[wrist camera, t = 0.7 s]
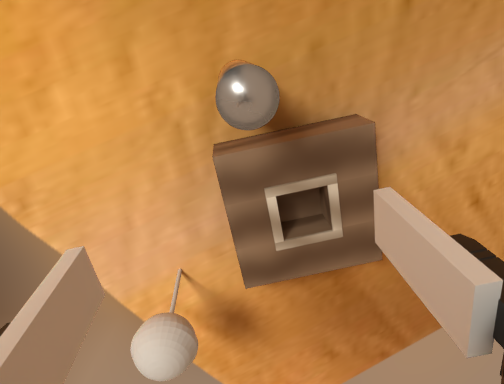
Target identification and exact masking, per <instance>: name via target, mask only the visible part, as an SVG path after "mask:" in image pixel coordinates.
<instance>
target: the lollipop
mask: <svg viewBox="0 0 504 384" xmlns="http://www.w3.org/2000/svg"><path fill="white" fill-rule="evenodd" d="M181 273H182V269H179V270H178V274H177V279H176V283H175V288H174V293H173V298H172V303H171V308H170V312H169V313H161V314H157V315H155V316H152V317H151V318H149V319H148V320H147V321H145V322H144V323H143V324H142V326H141V327H140V328H139V329H138V331H137V332H136V334H135V335H134V337H133V340H132V343H131V355H132V358H133V360H134V363H135V365H136V367H137V369H138V370H139V371H140V372H141V373H142V374H143V375H144V376H145V377H147V378H149V379H152V380H155V381H168V380H171V379H174V378H176V377H177V376H179V375H181V374H182V373H183V372H184V371H185V370H186V369H187V368H188V367H189V365H190V364H191V363H192V361H193V360H194V359H195V356H196V354H197V350H198V340H197V337H196V335H195V331H194V329H193V327H192V326H191V324H190V323H189V322H188V321H187V320H186V319H185V318H184V317H182V316H180V315H178V314H175V313H174V309H175V304H176V299H177V294H178V288H179V283H180V278H181Z"/></svg>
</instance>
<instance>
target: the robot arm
mask: <svg viewBox="0 0 504 384" xmlns="http://www.w3.org/2000/svg"><path fill="white" fill-rule="evenodd" d="M373 192H374V225H375V243H376V244H377V245H378V246H379V248H380V249H381V250H382V252H383V253H384V254H385V255H386V257H387V258H388V259H389V260H390V262H391V263H392V264H393V265H394V267H395V268H396V269H397V271H398V272H399V273H400V274H401V276H402V277H403V278H404V279H405V281H406V282H407V283H408V284H409V286H410V287H411V288H412V290H413V291H414V292H415V293H416V295H417V296H418V297H419V298H420V300H421V301H422V302H423V304H424V305H425V306H426V307H427V309H428V310H429V311H430V312H431V314H432V315H433V316H434V317H435V319H436V320H437V321H438V323H439V324H440V325H441V326H442V328H443V329H444V330H445V331H446V333H447V334H448V335H449V336H450V338H451V339H452V340H453V342H454V343H455V344H456V345H457V347H458V348H459V349H460V350H461V352H462V353H463V354H464V355H465V357H466V358H471V357H476V356H481V355H486V354H491V353H492V348H493V342H494V339H495V340H496V341H497V342H498V343H499V344H500V345H501V346H502V347H503V349H504V261H502V260H501V259H500V258H498V257H497V258H496V255H494V254H493V253H492V252H490V251H489V250H487V249H486V248H485V247H484V246H482V245H481V244H480V243H479V242H477V241H476V240H474V239H472V238H469V237H467V236H464V235H462V234H457V235H451V236H449V235H448V234H447V233H445V232H444V231H443V230H442V229H440V228H439V227H438V226H437V225H436V224H434V223H433V222H432V221H431V220H430V219H428V218H427V217H426V216H425V215H424V214H422V213H421V212H420V211H419V210H418V209H416V208H415V207H414V206H413V205H412V204H410V203H409V202H408V201H407V200H405V199H404V198H403V197H402V196H401V195H399V194H398V193H397V192H396V191H395V190H393V189H392V188H391V187H387V188H382V189H377V190H373ZM104 296H105V293H104V291H103V289H102V286H101V284H100V282H99V280H98V277H97V275H96V273H95V271H94V268H93V266H92V264H91V261H90V259H89V257H88V255H87V252H86V250H85V248H84V246H82V247H77V248H72V249H67V250H66V251H65V252H64V254H63V255H62V256H61V258H60V259H59V260H58V262H57V263H56V264H55V266H54V267H53V269H52V270H51V271H50V272H49V274H48V275H47V276H46V277H45V279H44V280H43V281H42V283H41V284H40V285H39V287H38V288H37V289H36V291H35V292H34V293H33V294H32V296H31V297H30V298H29V300H28V301H27V302H26V304H25V305H24V306H23V308H22V309H21V310H20V312H19V313H18V314H17V315H16V317H15V318H14V319H13V321H12V322H11V323H7V324H6V325H5V326H3V327H2V328H1V329H0V384H64V381H65V379H66V377H67V375H68V373H69V371H70V368H71V366H72V364H73V362H74V360H75V358H76V356H77V353H78V351H79V349H80V347H81V345H82V343H83V341H84V338H85V337H86V334H87V332H88V330H89V328H90V326H91V324H92V322H93V319H94V317H95V315H96V313H97V310H98V309H99V307H100V304H101V302H102V300H103V298H104ZM500 375H501V376H502V379H501V384H504V355H503V360H502V366H501V371H500Z"/></svg>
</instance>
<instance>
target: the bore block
mask: <svg viewBox="0 0 504 384" xmlns="http://www.w3.org/2000/svg"><path fill="white" fill-rule="evenodd" d="M213 161H214V165H215V169H216V173H217V177H218V181H219V185H220V189H221V193H222V197H223V201H224V205H225V209H226V213H227V217H228V221H229V225H230V229H231V232H232V236H233V240H234V244H235V248H236V252H237V256H238V260H239V264H240V268H241V272H242V276H243V280H244V284H245V288H246V289H247V288H251V287H256V286H261V285H266V284H270V283H275V282H280V281H284V280H289V279H294V278H299V277H303V276H308V275H313V274H318V273H322V272H327V271H332V270H336V269H341V268H346V267H351V266H355V265H360V264H365V263H369V262H374V261H379V260H382V250H381V249H380V248H379V246H378V245H377V244H376V243H375V225H374V192H373V190H377V189H378V171H377V153H376V134H375V122H372V121H370V120H368V119H366V118H364V117H361V116H359V115H357V114H354V115H350V116H345V117H340V118H335V119H331V120H326V121H321V122H317V123H312V124H307V125H303V126H298V127H293V128H288V129H284V130H279V131H274V132H270V133H265V134H260V135H255V136H251V137H246V138H241V139H237V140H232V141H227V142H223V143H218V144H214V148H213Z"/></svg>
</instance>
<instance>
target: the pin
mask: <svg viewBox="0 0 504 384" xmlns="http://www.w3.org/2000/svg"><path fill="white" fill-rule="evenodd" d="M216 105H217V108H218V111H219V113H220V115H221V116H222V118H223V119H224V120H225V121H226V122H227V123H228V124H230V125H231V126H233V127H235V128H237V129H241V130H254V129H258V128H260V127H262V126H264V125H265V124H267V123H268V122H269V121H270V120H271V119H272V118H273V116H274V115H275V113H276V111H277V109H278V105H279V89H278V86H277V83H276V81H275V80H274V78H273V77H272V75H271V74H270V73H269V72H267V71H266V70H265V69H263V68H261V67H259V66H256V65H254V64H251V63H248V62H245V61H242V60H233V61H230V62H228V63H227V64H226V65H225V66H224V67H223V68H222V69H221V71H220V74H219V79H218V84H217V90H216Z"/></svg>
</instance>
